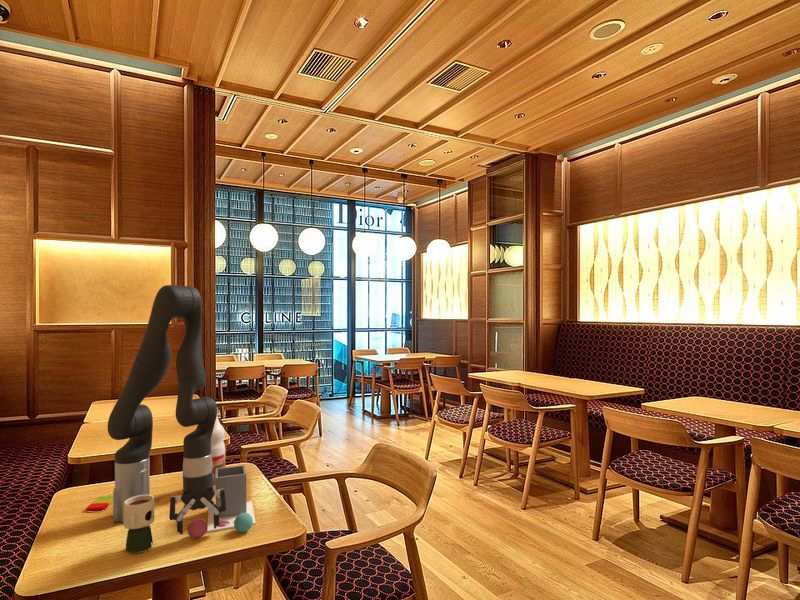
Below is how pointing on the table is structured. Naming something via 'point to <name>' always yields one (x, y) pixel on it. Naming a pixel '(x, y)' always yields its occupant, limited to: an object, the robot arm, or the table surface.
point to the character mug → (139, 522)
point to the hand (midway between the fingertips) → (198, 530)
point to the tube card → (231, 497)
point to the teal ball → (243, 522)
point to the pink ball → (197, 528)
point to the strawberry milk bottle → (217, 449)
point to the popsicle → (100, 503)
